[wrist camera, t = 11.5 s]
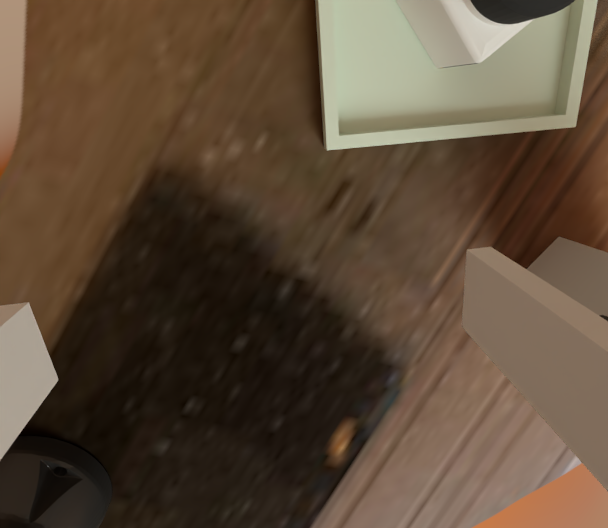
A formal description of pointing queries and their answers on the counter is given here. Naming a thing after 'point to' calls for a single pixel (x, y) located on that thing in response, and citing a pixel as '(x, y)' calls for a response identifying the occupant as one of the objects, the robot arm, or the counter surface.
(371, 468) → the counter surface
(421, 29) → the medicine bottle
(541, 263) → the soap bottle
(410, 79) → the tray
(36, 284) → the counter surface
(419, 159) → the counter surface
